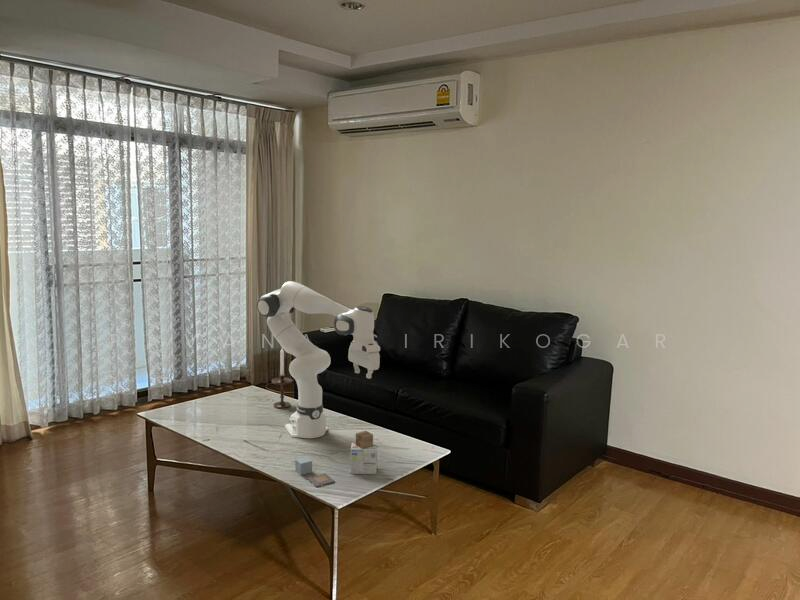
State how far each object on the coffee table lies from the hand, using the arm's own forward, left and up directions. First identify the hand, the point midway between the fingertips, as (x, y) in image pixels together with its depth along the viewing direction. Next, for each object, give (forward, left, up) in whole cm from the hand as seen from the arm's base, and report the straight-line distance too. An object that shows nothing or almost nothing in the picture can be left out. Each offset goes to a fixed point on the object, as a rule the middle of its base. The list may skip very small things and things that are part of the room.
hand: (362, 375), depth 252 cm
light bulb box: (+18, -10, -34) cm, 40 cm away
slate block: (+6, -31, -34) cm, 47 cm away
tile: (+17, -29, -34) cm, 48 cm away
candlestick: (-73, -5, -34) cm, 81 cm away
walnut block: (+18, -10, -23) cm, 31 cm away
